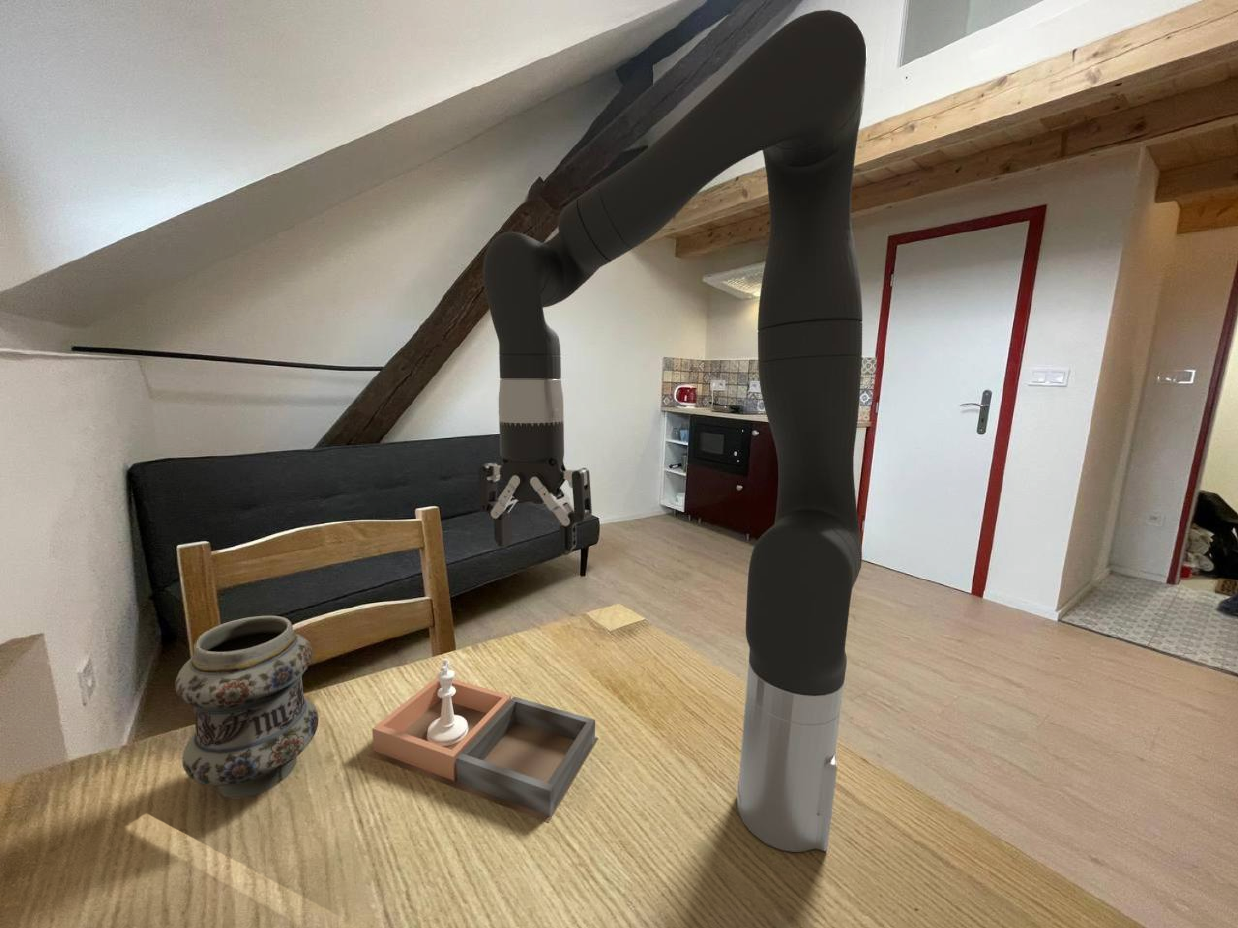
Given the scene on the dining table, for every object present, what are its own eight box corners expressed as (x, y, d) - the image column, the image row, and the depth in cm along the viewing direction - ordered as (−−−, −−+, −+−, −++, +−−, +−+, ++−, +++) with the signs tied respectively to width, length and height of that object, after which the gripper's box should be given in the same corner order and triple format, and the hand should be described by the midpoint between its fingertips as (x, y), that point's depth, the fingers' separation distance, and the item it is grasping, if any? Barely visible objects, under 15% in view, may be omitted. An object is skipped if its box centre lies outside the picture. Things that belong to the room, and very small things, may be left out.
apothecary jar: (330, 733, 64) (320, 601, 61) (309, 809, 53) (295, 653, 50) (215, 754, 60) (198, 614, 57) (166, 842, 49) (140, 674, 45)
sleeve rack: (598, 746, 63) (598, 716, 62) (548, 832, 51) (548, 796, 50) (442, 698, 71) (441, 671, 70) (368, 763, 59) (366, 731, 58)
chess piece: (474, 721, 65) (473, 650, 63) (458, 748, 60) (456, 673, 59) (438, 717, 66) (435, 647, 64) (419, 744, 61) (416, 669, 59)
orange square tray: (511, 715, 66) (511, 695, 66) (453, 780, 56) (453, 756, 55) (440, 694, 70) (439, 674, 70) (373, 750, 60) (372, 728, 59)
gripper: (599, 417, 60) (599, 546, 63) (497, 414, 65) (501, 535, 68) (573, 422, 53) (575, 567, 56) (461, 418, 58) (467, 552, 61)
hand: (534, 549), depth 62 cm, fingers open, 8 cm apart
